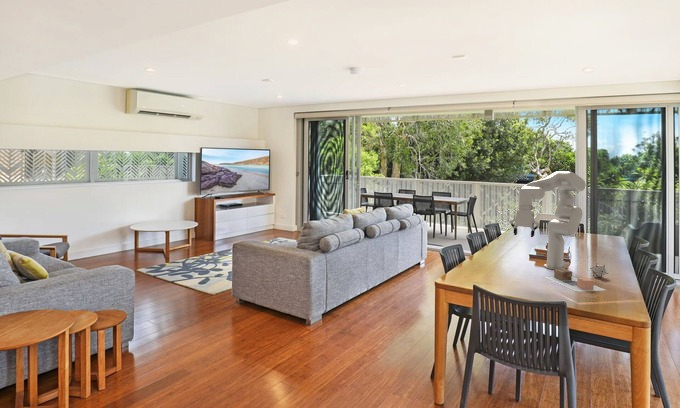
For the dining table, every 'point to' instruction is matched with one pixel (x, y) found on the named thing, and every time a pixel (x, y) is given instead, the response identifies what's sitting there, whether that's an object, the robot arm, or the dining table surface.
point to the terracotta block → (585, 283)
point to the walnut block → (563, 274)
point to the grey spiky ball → (599, 270)
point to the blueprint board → (572, 284)
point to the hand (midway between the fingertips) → (523, 235)
